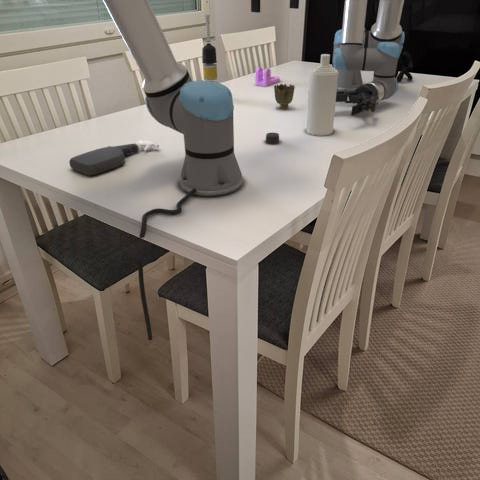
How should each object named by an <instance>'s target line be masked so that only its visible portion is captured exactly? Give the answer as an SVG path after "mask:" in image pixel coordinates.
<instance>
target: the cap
mask: <svg viewBox="0 0 480 480" xmlns="http://www.w3.org/2000/svg"><path fill="white" fill-rule="evenodd" d="M265 143H266V144H269V145H277V144H279V143H280V134H279V133H278V132H267V133H266V134H265Z"/></svg>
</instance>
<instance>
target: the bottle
mask: <svg viewBox="0 0 480 480" xmlns="http://www.w3.org/2000/svg"><path fill="white" fill-rule="evenodd" d="M330 60H331V54H329V53H322V54H321V55H320V63H319V64H318V65H317V66H315V67H314V68H312V69H310V71H309V82H308V96H307V113H306V114H307V115H306V130H305V131H306V133H307V134H309V135H313V136H320V137H321V136H324V137H325V136H328V135H332V134H333V132H334V125H335V124H334V123H335V112H336V103H337V102H336V93H337V92H338V91H337V82H338V71H337V70H336V69H335V68H333V67H332V64H330Z"/></svg>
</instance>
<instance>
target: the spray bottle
mask: <svg viewBox="0 0 480 480" xmlns="http://www.w3.org/2000/svg"><path fill="white" fill-rule="evenodd" d="M159 148H160V145H159V144H158V143H155V142H151V141H148V140H144V139H139V140H138V141H137V142H135V143H129V144H128V143H126V144H122V145H113V146H105V147H100V148H97V149H94V150H90V151H87V152H83V153H81V154H78V155H74V156H73V157H70V159H69V161H68V162H69V167H70V168H71V169H72V170H74V171H75V172H78V173H81V174H83V175H85V176H89V177H90V176H91V177H92V176H95V175H99V174H102V173H105V172H107V171H110V170H113V169H116V168H118V167H120V166H122V165H123V164H124V163H125V158H126V156H127V155H131V154H133V153H138V151H140V150H143V151H144V152H146V151H147V150H149V149H159Z"/></svg>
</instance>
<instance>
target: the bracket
mask: <svg viewBox="0 0 480 480" xmlns="http://www.w3.org/2000/svg"><path fill="white" fill-rule="evenodd" d="M254 75H255V76H254V77H255V78H254V80H255V86H262V87H268V86H270V85H273V84H276V83H279V82H280V76H273V75H272V72H271V69H270V68H268V67H266V68H264V69H263V67H259V66H258V67H256V68H255V74H254Z"/></svg>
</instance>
